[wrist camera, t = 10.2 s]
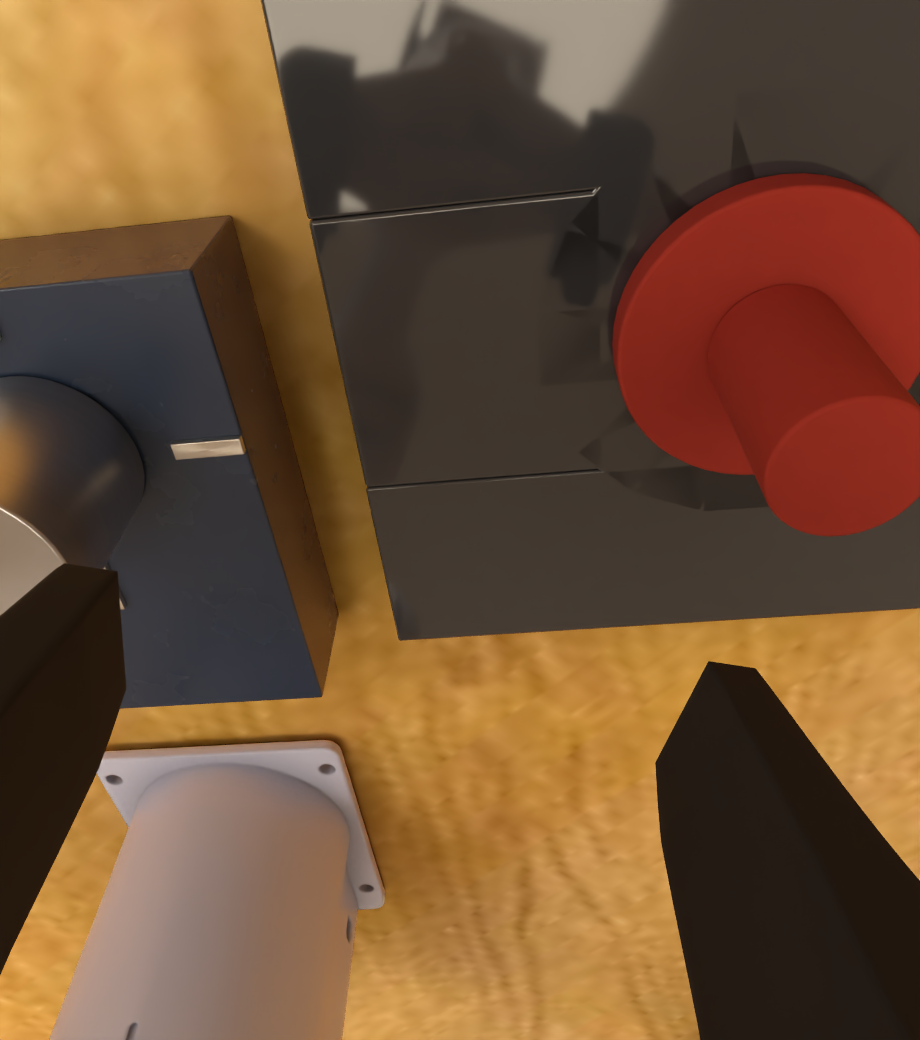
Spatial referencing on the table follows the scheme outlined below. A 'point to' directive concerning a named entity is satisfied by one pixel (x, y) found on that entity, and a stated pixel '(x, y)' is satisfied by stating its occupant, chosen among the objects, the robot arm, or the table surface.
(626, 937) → the table surface
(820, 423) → the stopper
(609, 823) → the table surface
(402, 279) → the dark marbled square slab
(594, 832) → the table surface
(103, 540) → the tap knob
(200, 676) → the rotary dial switch
